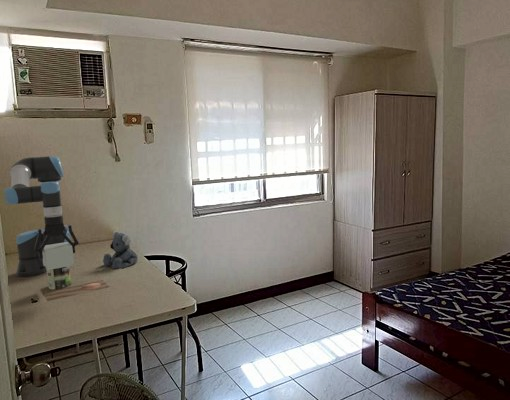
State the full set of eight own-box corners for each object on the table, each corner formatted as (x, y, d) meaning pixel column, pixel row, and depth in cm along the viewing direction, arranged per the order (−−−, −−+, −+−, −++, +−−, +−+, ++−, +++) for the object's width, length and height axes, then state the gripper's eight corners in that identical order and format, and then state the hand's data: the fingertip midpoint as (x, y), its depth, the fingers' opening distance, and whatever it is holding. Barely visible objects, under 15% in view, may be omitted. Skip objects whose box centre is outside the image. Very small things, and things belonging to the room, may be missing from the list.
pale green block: (44, 264, 189) (41, 245, 187) (69, 260, 195) (67, 241, 193) (47, 270, 180) (45, 250, 178) (74, 265, 186) (72, 245, 184)
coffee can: (75, 284, 205) (72, 257, 203) (65, 292, 195) (62, 263, 193) (55, 285, 205) (52, 258, 203) (44, 292, 195) (41, 264, 193)
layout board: (43, 295, 191) (43, 292, 190) (103, 282, 206) (102, 279, 205) (47, 304, 180) (47, 300, 180) (110, 289, 195) (109, 286, 195)
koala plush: (101, 265, 238) (98, 232, 235) (130, 258, 250) (127, 227, 248) (115, 271, 225) (112, 236, 223) (144, 263, 238) (141, 230, 235)
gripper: (24, 220, 174) (30, 269, 177) (82, 213, 187) (87, 259, 190) (23, 218, 181) (29, 266, 184) (79, 211, 194) (83, 256, 197)
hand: (58, 262), depth 187 cm, fingers closed on pale green block, 11 cm apart
